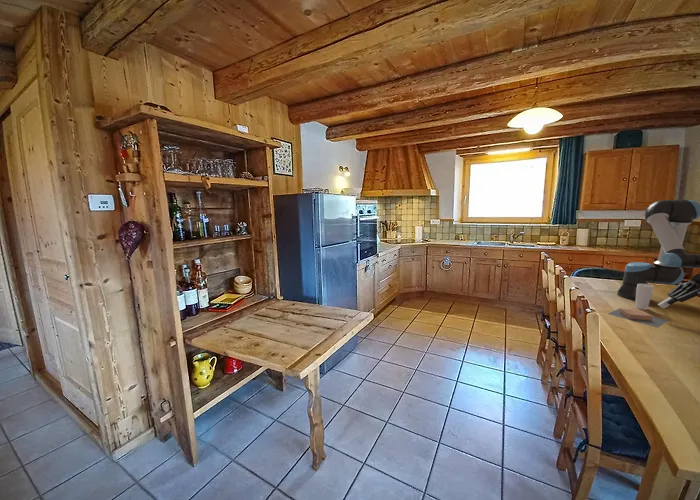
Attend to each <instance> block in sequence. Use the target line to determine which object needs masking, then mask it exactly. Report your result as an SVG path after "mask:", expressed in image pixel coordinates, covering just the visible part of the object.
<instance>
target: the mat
mask: <svg viewBox="0 0 700 500" xmlns="http://www.w3.org/2000/svg"><path fill="white" fill-rule="evenodd" d="M620 309H623V308H617V309H614V310H613V311H611V312H608V313H607V314H608V315H610V316H614V317H619V318H621V319H625V320H629V321H632V322H636V323H639V324H642V325H643V324H644V325H646V326H650V327H654V328H659V327H661V326H662V325H664V324H666V323H667V322H669V320H667V319H664V318H660V317H656V316H653V318H652V321H651V320H650V321H649V320H638V319H629V318H627V317H626V316H624V315H622V314H621V313H620Z"/></svg>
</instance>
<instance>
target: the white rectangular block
mask: <svg viewBox="0 0 700 500" xmlns="http://www.w3.org/2000/svg"><path fill="white" fill-rule="evenodd" d="M653 292H654V285H651V284H649V283H648V284H637V288H636V300H634V301H635V305H634V308H635V309H637V310H641V311H643V310H645V311H647V310H648V308H649V305H650V302H651V299H652V296H653Z"/></svg>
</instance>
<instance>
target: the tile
mask: <svg viewBox="0 0 700 500" xmlns="http://www.w3.org/2000/svg"><path fill="white" fill-rule="evenodd" d="M620 313H621V314H622V315H624V316H626V317H627V318H629V319H638V320H649V321H650V320H651V321H652V318H653V317H654V316H653V315H651V314H649V313H648V312H646V311H643V310H642V309H628V308H622V309H620Z"/></svg>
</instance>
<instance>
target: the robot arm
mask: <svg viewBox="0 0 700 500" xmlns="http://www.w3.org/2000/svg"><path fill="white" fill-rule="evenodd" d="M699 217H700V203H699V201H697V200H693V199H661V200H657V201H654V202H653V203H651V204H650V205H649V206H648V207H646V209H645V212H644V218H645V221H646V222H647V223H648V224H650V226H651V228H652V230H653V231H654V234H655V236H656V238H657V240H658V242H659V244H660V249H659V253H658V256H657V260H655V261H653V263H652V264H651V263H649V262H642V261H641V262H639V261H636V262H635V261H634V262H629V263H627V264H626V265H625V268H624V272H623V279H622V284H621V285H620V287H619V288H618V290H617V291H616V292H617V296H619V297H622V298H625V299H630V300H634V301H636V288H637V284H648V285H649V284H659V285H661V284H662V285H676V286H675V287H674V288H673V289H672V290H671V291H669V292H668V293H667V296H668V297H666V298H665V299H663V300H662V301H660V302H659V303H657V306H658V307H660V308H661V309H663V310H664V309H667V307H669V306H672V305H673V304H675V303H676V302H677V303H678V302H680V303H684V302H686V301H689V300H690V299H693V298H695V297H698V296H700V273H697V274H695V275H693V276H692V277H690V278H691V280H689V281H686V282H683V279H684V277H685V272H684V269H683V268H691V269H700V254H699V253H698V254H697V253H687V251H686V250H685V248H684V246H683V243H684V241H685V236H686V234H687V233H686V232H687V229H688V226H690V225H691V224H692V223H693V221H694V220H697V219H699Z"/></svg>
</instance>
